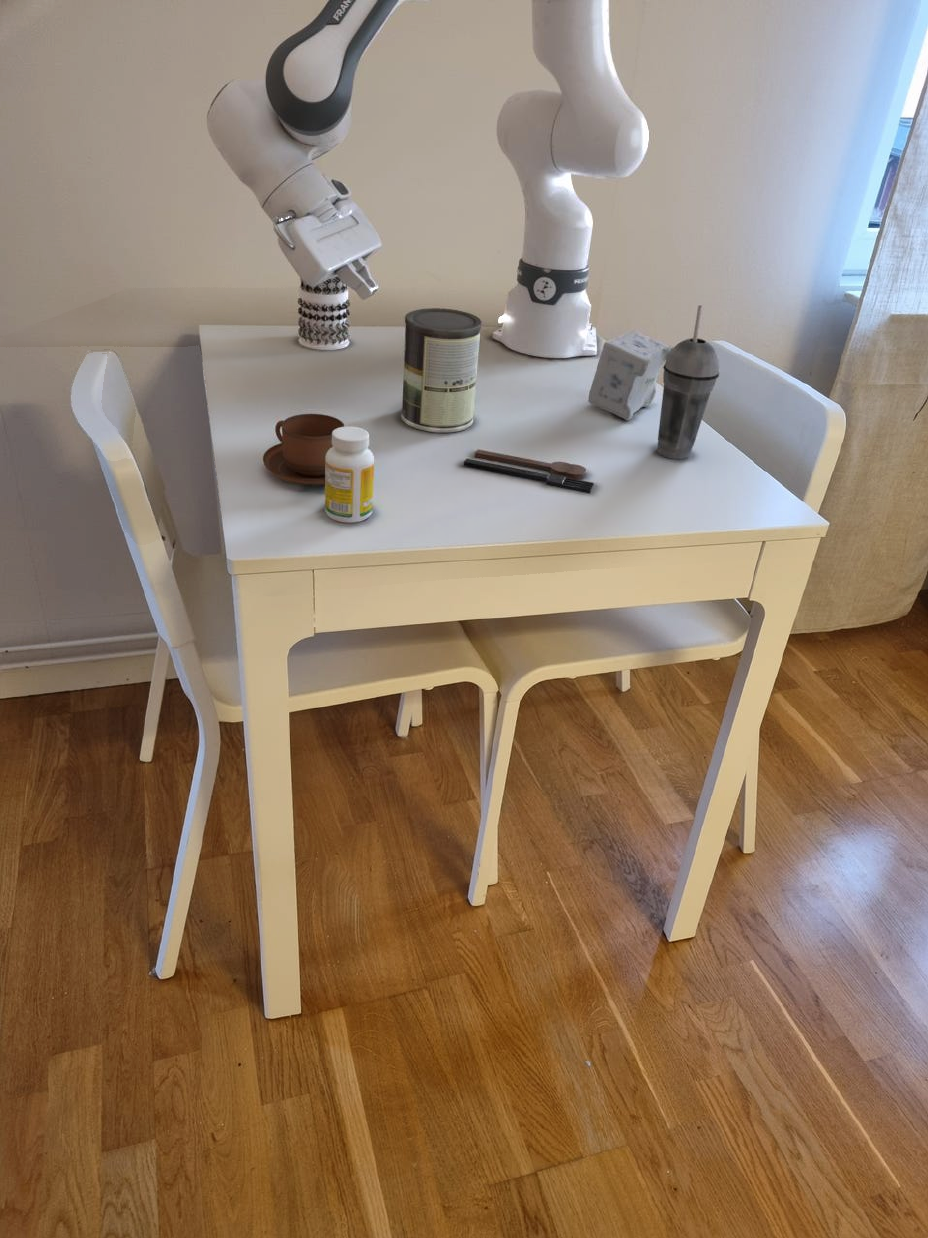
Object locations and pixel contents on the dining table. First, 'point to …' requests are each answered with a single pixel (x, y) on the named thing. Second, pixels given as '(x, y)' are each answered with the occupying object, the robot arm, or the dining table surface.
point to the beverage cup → (686, 393)
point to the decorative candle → (324, 315)
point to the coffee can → (440, 369)
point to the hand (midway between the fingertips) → (371, 294)
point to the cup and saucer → (302, 448)
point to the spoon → (537, 464)
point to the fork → (533, 475)
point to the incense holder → (628, 373)
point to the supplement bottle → (349, 476)
